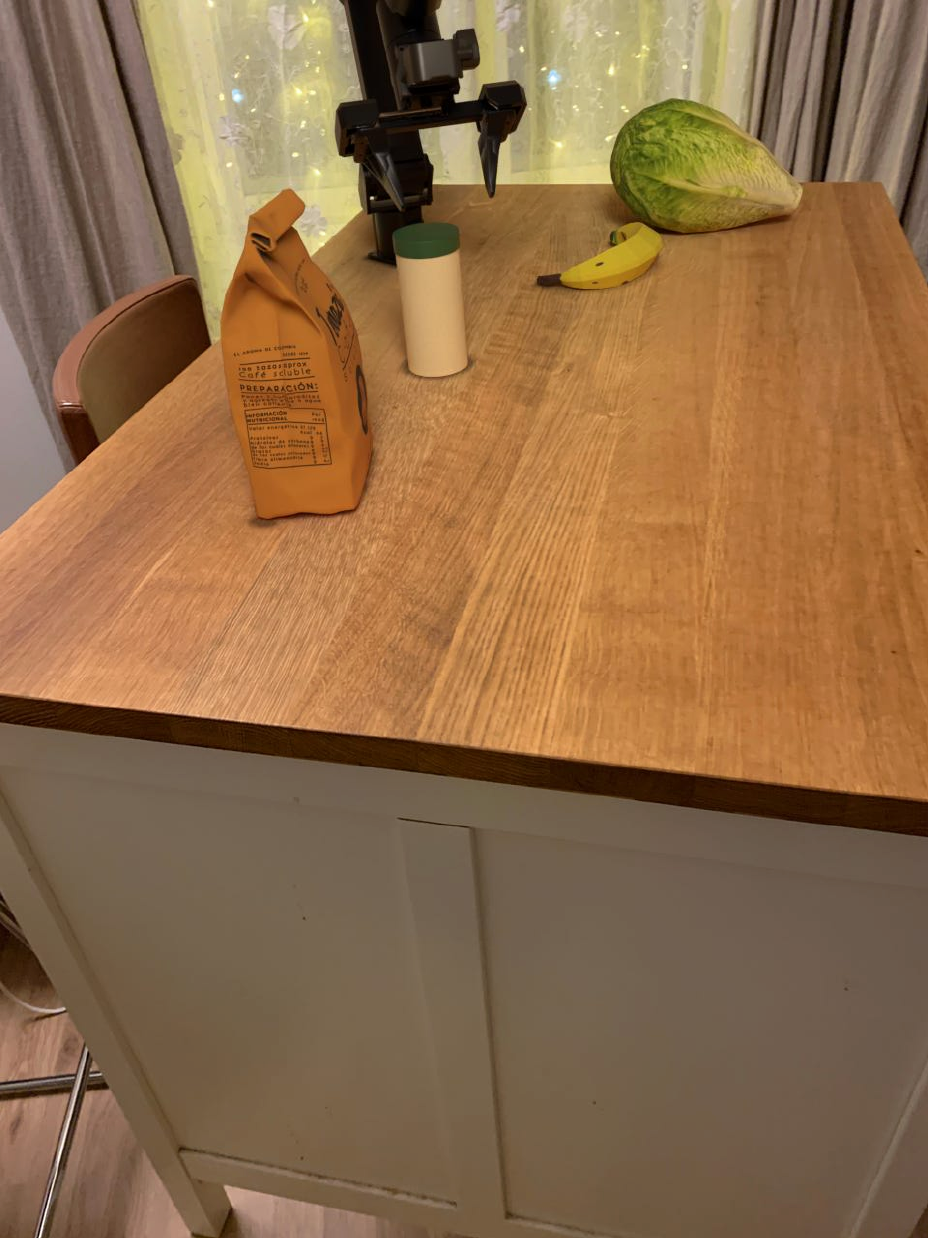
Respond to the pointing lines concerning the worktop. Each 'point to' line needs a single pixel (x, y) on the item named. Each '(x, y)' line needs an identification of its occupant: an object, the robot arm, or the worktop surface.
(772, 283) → the worktop surface
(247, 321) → the coffee package
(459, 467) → the worktop surface
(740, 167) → the lettuce
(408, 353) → the cheese shaker
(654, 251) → the banana
